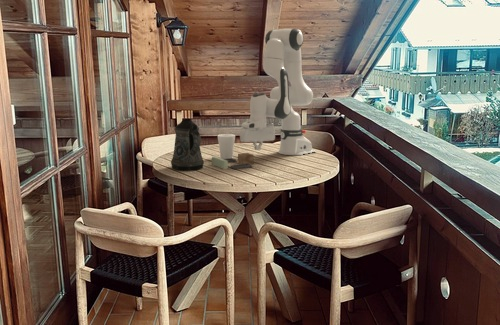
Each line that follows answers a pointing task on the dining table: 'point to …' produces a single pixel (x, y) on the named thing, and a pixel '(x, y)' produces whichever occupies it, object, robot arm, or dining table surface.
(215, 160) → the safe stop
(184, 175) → the dining table surface
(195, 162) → the beer stein
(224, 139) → the foam cup
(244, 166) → the trap pair
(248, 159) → the walnut block
